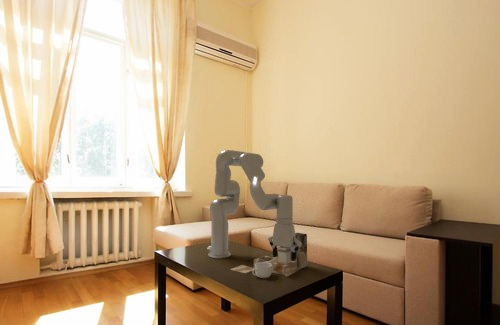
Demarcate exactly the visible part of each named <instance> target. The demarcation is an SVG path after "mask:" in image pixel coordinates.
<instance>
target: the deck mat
mask: <svg viewBox="0 0 500 325" xmlns="http://www.w3.org/2000/svg"><path fill="white" fill-rule="evenodd" d="M253 269H255V268H254V266H253V267H252V266H248V265H245V264H240V265H238V266H235V267H234V268H230V270H231V271H233V272H234V271H235V272H238V273H243V274H247V273H250V272H252V271H253Z"/></svg>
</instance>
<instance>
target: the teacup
mask: <svg viewBox="0 0 500 325" xmlns="http://www.w3.org/2000/svg"><path fill="white" fill-rule="evenodd" d="M251 272H252V275H254V276H257V277H258V278H261V279H268V278H270V277H271V275H272V274H273V273H272V264H271V263H267V262H259V263H256V264H255V269H253V270H252V271H251Z"/></svg>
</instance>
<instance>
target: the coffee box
mask: <svg viewBox="0 0 500 325" xmlns="http://www.w3.org/2000/svg"><path fill="white" fill-rule="evenodd" d="M295 238H296V239H297V240H299V241H300V242H301V243H302V244H301V246H300V248H299V249H298V250H297V251H296V260H294V261H297V271H299V270H302V269H304V268H306V267H308V234H307V233H302V232H295ZM295 246H296V247H297V243H295ZM291 252H292V250H291V248H290V260H291Z"/></svg>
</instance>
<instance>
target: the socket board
mask: <svg viewBox="0 0 500 325" xmlns="http://www.w3.org/2000/svg"><path fill="white" fill-rule="evenodd" d="M259 262H267V263H271V264H272V273H271V274H277V275H282V276H284V277H287V278H288V277H289V276H291V275H293V274H294V273H296V272H297V271H298V270H297V261H292V260H290V264H288V265H284V264H283V263H278V257H277V256H276V257H273V256H270V255H265V254H264V255H262V256H260V257H257V258H255V259H253V268H255V264H256V263H259Z"/></svg>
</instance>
